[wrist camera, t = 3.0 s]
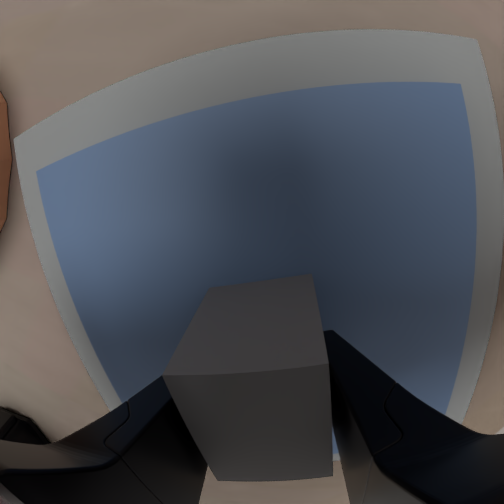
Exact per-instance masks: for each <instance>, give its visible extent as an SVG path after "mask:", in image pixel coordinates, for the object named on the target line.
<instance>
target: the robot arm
mask: <svg viewBox="0 0 504 504" xmlns="http://www.w3.org/2000/svg"><path fill="white" fill-rule="evenodd" d="M323 333H324V339H325V345H326V350H327V356H328V362H329V375H330V392H331V412H332V428H333V432H334V436H335V440H336V444H337V448H338V452H339V456H340V461H341V465H342V469H343V473H344V478H345V482H346V487H347V491H348V496H349V500H350V504H504V434H497V435H487V434H481V433H478V432H475V431H472V430H470V429H468V428H466V427H465V426H463V425H461V424H460V423H458V422H456V421H454V420H453V419H451V418H449V417H447V416H446V415H444V414H442V413H441V412H439V411H437V410H436V409H434V408H432V407H431V406H429V405H428V404H426V403H424V402H423V401H421V400H420V399H418V398H417V397H416V396H414V395H413V394H412V393H410V392H409V391H408V390H406V389H405V388H404V387H403V386H401V385H400V384H399V383H396V381H395V380H394V379H392V378H391V377H390V376H389V375H388V374H386V373H385V372H384V371H383V370H381V369H380V368H379V367H378V366H377V365H375V364H374V363H373V362H372V361H370V360H369V359H368V358H367V357H365V356H364V355H363V354H362V353H361V352H359V351H358V350H357V349H356V348H354V347H353V346H352V345H351V344H350V343H348V342H347V341H346V340H345V339H343V338H342V337H341V336H340V335H339V334H337V333H336V332H335V331H334V330H326V331H323ZM207 467H208V464H207V462H206V460H205V459H204V457H203V455H202V454H201V452H200V450H199V448H198V446H197V445H196V443H195V441H194V439H193V437H192V435H191V434H190V432H189V430H188V428H187V426H186V424H185V422H184V420H183V418H182V416H181V414H180V412H179V410H178V408H177V406H176V404H175V402H174V400H173V398H172V396H171V394H170V392H169V390H168V387H167V385H166V383H165V381H164V379H163V377H162V375H161V376H160V377H159V378H157V379H156V380H155V381H153V382H152V383H150V384H149V385H148V386H146V387H145V388H143V389H142V390H141V391H139V392H138V393H136V394H135V395H134V396H132V397H131V398H129V399H128V401H125V402H124V403H122V404H121V405H119V406H118V407H117V408H115V409H114V410H112V411H111V412H109V413H107V414H106V415H104V416H103V417H101V418H99V419H98V420H96V421H94V422H92V423H91V424H89V425H87V426H85V427H84V428H82V429H80V430H78V431H76V432H74V433H73V434H71V435H69V436H67V437H65V438H63V439H61V440H59V441H57V442H54V443H51V444H50V443H49V442H48V441H47V440H46V438H45V437H44V436H43V435H42V433H41V432H40V431H39V430H38V428H37V427H36V426H35V424H34V423H33V422H32V421H31V420H30V419H28V418H25V417H23V416H20V415H17V414H15V413H12V412H10V411H7V410H5V409H2V408H0V504H199V500H200V496H201V491H202V487H203V483H204V479H205V475H206V471H207Z"/></svg>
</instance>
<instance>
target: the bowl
mask: <svg viewBox="0 0 504 504" xmlns="http://www.w3.org/2000/svg"><path fill="white" fill-rule="evenodd" d="M11 163H12V155H11V148H10V139H9V129H8V116H7V103H6V101H5V99H4V97H3V96H2V94H1V92H0V232H1V229H2V227H3V225H4V222H5V220H6V218H7V200H8V188H9V179H10V170H11Z"/></svg>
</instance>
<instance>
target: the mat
mask: <svg viewBox="0 0 504 504" xmlns="http://www.w3.org/2000/svg"><path fill="white" fill-rule="evenodd" d="M375 82H440V83H457V84H461V87H462V91H463V96H464V101H465V106H466V111H467V116H468V122H469V128H470V135H471V142H472V150H473V159H474V170H475V184H476V209H477V233H476V258H475V272H474V283H473V292H472V300H471V307H470V314H469V321H468V327H467V332H466V337H465V342H464V347H463V352H462V357H461V361H460V365H459V369H458V373H457V377H456V381H455V384H454V388H453V391H452V395H451V398H450V401H449V405H448V408H447V411H446V414H445V415H446V416H447V417H449V418H451V419H453V420H454V421H456V422H458V423H460V424H462V422H463V419H464V417H465V414H466V412H467V409H468V406H469V404H470V401H471V398H472V395H473V392H474V390H475V387H476V384H477V380H478V377H479V374H480V371H481V367H482V364H483V360H484V357H485V353H486V349H487V345H488V341H489V337H490V332H491V328H492V323H493V318H494V313H495V307H496V301H497V295H498V288H499V281H500V273H501V263H502V252H503V236H504V182H503V166H502V155H501V146H500V138H499V130H498V124H497V118H496V112H495V107H494V102H493V97H492V92H491V88H490V83H489V79H488V75H487V72H486V68H485V64H484V61H483V57H482V54H481V51H480V48H479V45H478V42H477V39H472V38H467V37H461V36H455V35H448V34H440V33H431V32H421V31H408V30H386V29H356V30H333V31H320V32H309V33H300V34H292V35H284V36H278V37H271V38H265V39H260V40H254V41H249V42H244V43H239V44H235V45H230V46H226V47H222V48H218V49H214V50H210V51H206V52H202V53H199V54H195V55H192V56H188V57H185V58H182V59H179V60H176V61H172V62H169V63H166V64H164V65H161V66H158V67H155V68H152V69H149V70H147V71H144V72H141V73H139V74H136V75H134V76H131V77H129V78H126V79H124V80H122V81H119V82H117V83H115V84H112V85H110V86H108V87H105V88H103V89H101V90H99V91H97V92H95V93H93V94H91V95H89V96H86V97H84V98H82V99H80V100H79V101H77V102H75V103H73V104H71V105H69V106H67V107H65V108H63V109H62V110H60V111H58V112H56V113H54V114H53V115H51V116H49V117H48V118H46V119H44V120H42V121H41V122H39V123H38V124H36V125H34V126H33V127H31V128H29V129H28V130H26V131H25V132H23V133H22V134H20V135H19V136H17V137H16V138H14V147H15V154H16V161H17V168H18V173H19V179H20V184H21V190H22V194H23V199H24V204H25V208H26V212H27V216H28V220H29V224H30V228H31V232H32V235H33V239H34V242H35V246H36V249H37V252H38V256H39V259H40V262H41V265H42V268H43V271H44V274H45V277H46V279H47V282H48V285H49V288H50V290H51V293H52V296H53V298H54V301H55V303H56V306H57V308H58V311H59V313H60V315H61V318H62V320H63V322H64V325H65V327H66V329H67V331H68V334H69V336H70V338H71V340H72V342H73V344H74V346H75V348H76V350H77V352H78V354H79V356H80V358H81V360H82V362H83V364H84V366H85V368H86V370H87V372H88V374H89V375H90V377H91V379H92V381H93V383H94V384H95V386H96V388H97V390H98V391H99V393H100V395H101V397H102V398H103V400H104V402H105V403H106V405H107V406H108V408H109V410H110V411H112V410H114V409H115V408H117V407H118V406H119V405H121V404H122V402H121V400H120V398H119V397H118V395H117V393H116V391H115V390H114V388H113V386H112V384H111V382H110V380H109V379H108V377H107V375H106V373H105V371H104V369H103V367H102V365H101V363H100V361H99V359H98V357H97V355H96V353H95V351H94V349H93V347H92V345H91V342H90V340H89V338H88V336H87V334H86V331H85V329H84V327H83V325H82V322H81V320H80V317H79V315H78V313H77V310H76V308H75V305H74V303H73V300H72V298H71V295H70V292H69V290H68V287H67V284H66V281H65V279H64V276H63V273H62V270H61V267H60V264H59V261H58V258H57V254H56V251H55V248H54V245H53V241H52V238H51V234H50V231H49V227H48V223H47V219H46V215H45V211H44V207H43V203H42V199H41V194H40V189H39V184H38V179H37V174H36V171H38V170H40V169H42V168H44V167H46V166H48V165H50V164H52V163H54V162H56V161H58V160H60V159H62V158H65V157H67V156H69V155H71V154H74V153H76V152H78V151H80V150H83V149H85V148H87V147H90V146H92V145H95V144H97V143H100V142H102V141H105V140H107V139H110V138H112V137H115V136H118V135H120V134H123V133H126V132H129V131H131V130H134V129H137V128H140V127H143V126H146V125H149V124H152V123H155V122H158V121H161V120H165V119H168V118H171V117H175V116H178V115H181V114H185V113H189V112H192V111H196V110H200V109H204V108H207V107H211V106H216V105H220V104H224V103H228V102H233V101H237V100H242V99H247V98H252V97H257V96H262V95H268V94H274V93H280V92H286V91H292V90H299V89H307V88H315V87H324V86H333V85H344V84H357V83H375ZM338 460H340V456H339V453H336V454H333V461H338Z"/></svg>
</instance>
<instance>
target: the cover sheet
mask: <svg viewBox="0 0 504 504" xmlns="http://www.w3.org/2000/svg"><path fill="white" fill-rule="evenodd" d="M36 174H37V179H38V184H39V189H40V194H41V199H42V203H43V207H44V211H45V215H46V219H47V223H48V227H49V231H50V234H51V238H52V241H53V245H54V248H55V251H56V254H57V258H58V261H59V264H60V267H61V270H62V273H63V276H64V279H65V281H66V284H67V287H68V290H69V292H70V295H71V298H72V300H73V303H74V305H75V308H76V310H77V313H78V315H79V317H80V320H81V322H82V325H83V327H84V329H85V331H86V334H87V336H88V338H89V340H90V342H91V345H92V347H93V349H94V351H95V353H96V355H97V357H98V359H99V361H100V363H101V365H102V367H103V369H104V371H105V373H106V375H107V377H108V379H109V380H110V382H111V384H112V386H113V388H114V390H115V391H116V393H117V395H118V397H119V398H120V400H121V402H122V403H124V402H125V401H128V399H129V398H131V397H132V396H134V395H135V394H136V393H138V392H139V391H141V390H142V389H143V388H145V387H146V386H148V385H149V384H150V383H152V382H153V381H155V380H156V379H157V378H159V377H160V376H161V375H162V377H163V379H164V381H165V383H166V385H167V387H168V390H169V392H170V394H171V396H172V398H173V400H174V402H175V404H176V406H177V408H178V410H179V412H180V414H181V416H182V418H183V420H184V422H185V424H186V426H187V428H188V430H189V432H190V434H191V435H192V437H193V439H194V441H195V443H196V445H197V446H198V448H199V450H200V452H201V454H202V455H203V457H204V459H205V460H206V462H207V464H208V466H209V467H210V469H211V471H212V472H213V474H214V476H215V477H216V479H217V480H218V481H286V480H300V479H312V478H321V477H329V476H333V454H336V453H339V452H338V448H337V444H336V440H335V436H334V432H333V428H332V412H331V392H330V375H329V362H328V356H327V350H326V345H325V339H324V333H323V331H326V330H334V331H335V332H336V333H337V334H339V335H340V336H341V337H342V338H343V339H345V340H346V341H347V342H348V343H350V344H351V345H352V346H353V347H354V348H356V349H357V350H358V351H359V352H361V353H362V354H363V355H364V356H365V357H367V358H368V359H369V360H370V361H372V362H373V363H374V364H375V365H377V366H378V367H379V368H380V369H381V370H383V371H384V372H385V373H386V374H388V375H389V376H390V377H391V378H392V379H394V380H395V381H396V383H399V384H400V385H401V386H403V387H404V388H405V389H406V390H408V391H409V392H410V393H412V394H413V395H414V396H416V397H417V398H418V399H420V400H421V401H423V402H424V403H426V404H428V405H429V406H431V407H432V408H434V409H436V410H437V411H439V412H441V413H442V414H444V415H445V414H446V411H447V408H448V405H449V401H450V398H451V395H452V391H453V388H454V384H455V381H456V377H457V373H458V369H459V365H460V361H461V357H462V352H463V347H464V342H465V337H466V332H467V327H468V321H469V314H470V307H471V300H472V292H473V283H474V272H475V258H476V233H477V209H476V184H475V170H474V159H473V150H472V142H471V135H470V128H469V122H468V116H467V111H466V106H465V101H464V96H463V91H462V87H461V84H457V83H440V82H375V83H357V84H344V85H333V86H324V87H315V88H307V89H299V90H292V91H286V92H280V93H274V94H268V95H262V96H257V97H252V98H247V99H242V100H237V101H233V102H228V103H224V104H220V105H216V106H211V107H207V108H204V109H200V110H196V111H192V112H189V113H185V114H181V115H178V116H175V117H171V118H168V119H165V120H161V121H158V122H155V123H152V124H149V125H146V126H143V127H140V128H137V129H134V130H131V131H129V132H126V133H123V134H120V135H118V136H115V137H112V138H110V139H107V140H105V141H102V142H100V143H97V144H95V145H92V146H90V147H87V148H85V149H83V150H80V151H78V152H76V153H74V154H71V155H69V156H67V157H65V158H62V159H60V160H58V161H56V162H54V163H52V164H50V165H48V166H46V167H44V168H42V169H40V170H38V171H36Z"/></svg>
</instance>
